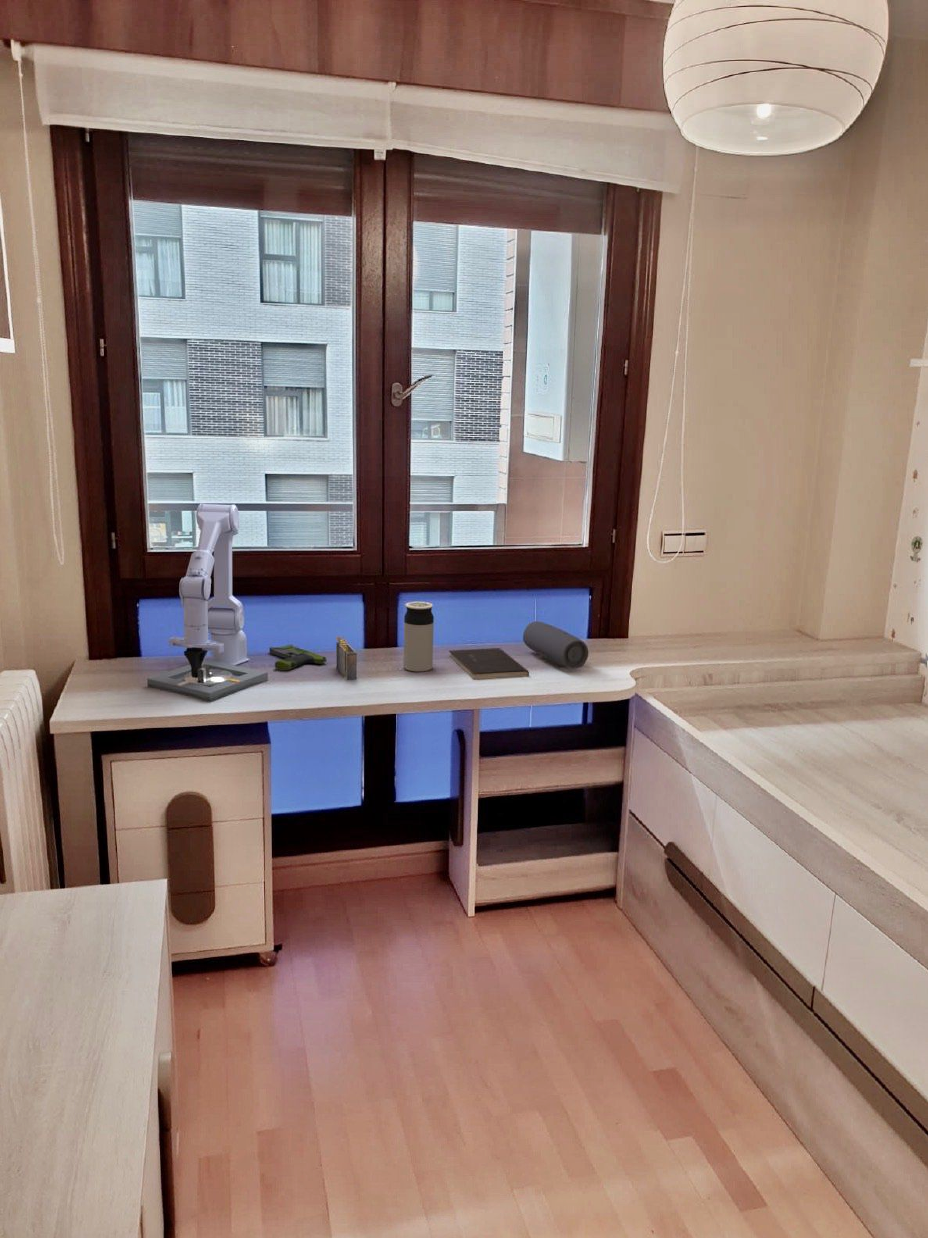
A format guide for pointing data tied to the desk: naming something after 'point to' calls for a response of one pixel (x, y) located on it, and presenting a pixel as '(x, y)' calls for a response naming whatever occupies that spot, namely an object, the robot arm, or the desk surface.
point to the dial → (209, 676)
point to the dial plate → (177, 685)
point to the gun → (294, 657)
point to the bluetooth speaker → (555, 645)
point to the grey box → (346, 659)
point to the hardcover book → (488, 663)
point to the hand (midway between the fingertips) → (197, 676)
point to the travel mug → (418, 636)
